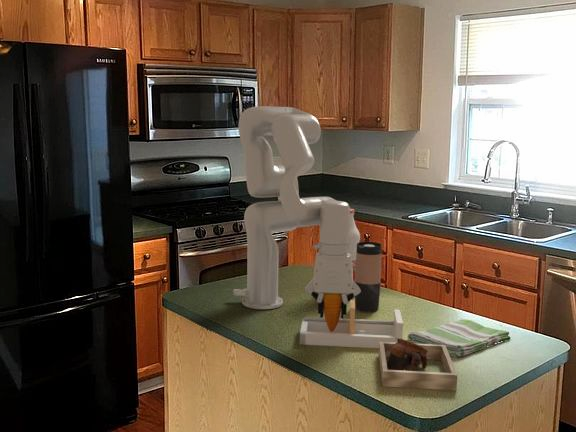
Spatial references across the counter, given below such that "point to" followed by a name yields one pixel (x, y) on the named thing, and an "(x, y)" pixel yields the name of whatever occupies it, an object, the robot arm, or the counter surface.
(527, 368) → the counter surface
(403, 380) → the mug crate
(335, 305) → the carrot
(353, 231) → the fruit juice
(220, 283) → the counter surface
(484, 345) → the dish towel
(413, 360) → the pottery mug
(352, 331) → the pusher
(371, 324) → the frame
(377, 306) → the travel mug
